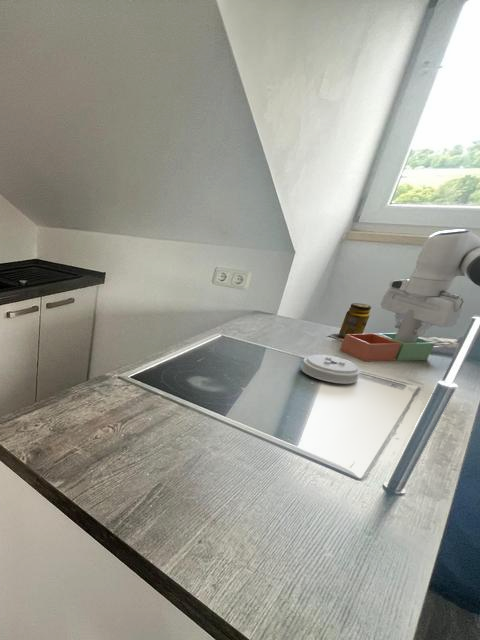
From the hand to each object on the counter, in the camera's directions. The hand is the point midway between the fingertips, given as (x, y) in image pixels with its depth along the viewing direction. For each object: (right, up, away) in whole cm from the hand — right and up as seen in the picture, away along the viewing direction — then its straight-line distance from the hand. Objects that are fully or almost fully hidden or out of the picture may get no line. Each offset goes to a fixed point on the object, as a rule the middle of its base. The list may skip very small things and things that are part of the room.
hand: (408, 331), depth 120 cm
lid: (-33, -14, -9) cm, 37 cm away
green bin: (0, -7, +3) cm, 8 cm away
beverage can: (0, -5, +2) cm, 5 cm away
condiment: (-4, -1, +17) cm, 17 cm away
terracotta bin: (-10, -7, +3) cm, 13 cm away
